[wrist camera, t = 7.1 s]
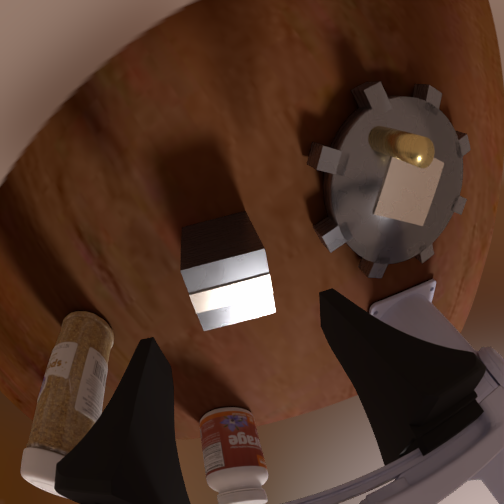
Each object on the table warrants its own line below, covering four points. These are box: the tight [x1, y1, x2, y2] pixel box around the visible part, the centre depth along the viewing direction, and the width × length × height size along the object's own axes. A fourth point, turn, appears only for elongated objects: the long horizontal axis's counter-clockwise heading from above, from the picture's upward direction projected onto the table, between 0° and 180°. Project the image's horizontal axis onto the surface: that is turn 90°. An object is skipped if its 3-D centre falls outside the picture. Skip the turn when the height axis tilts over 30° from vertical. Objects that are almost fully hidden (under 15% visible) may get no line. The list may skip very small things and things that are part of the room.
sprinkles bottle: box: [21, 311, 114, 498], centre depth 14 cm, size 5×5×14 cm
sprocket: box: [307, 82, 470, 278], centre depth 16 cm, size 14×14×6 cm
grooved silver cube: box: [181, 211, 276, 331], centre depth 16 cm, size 4×4×5 cm
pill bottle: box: [200, 407, 268, 504], centre depth 24 cm, size 6×6×11 cm
